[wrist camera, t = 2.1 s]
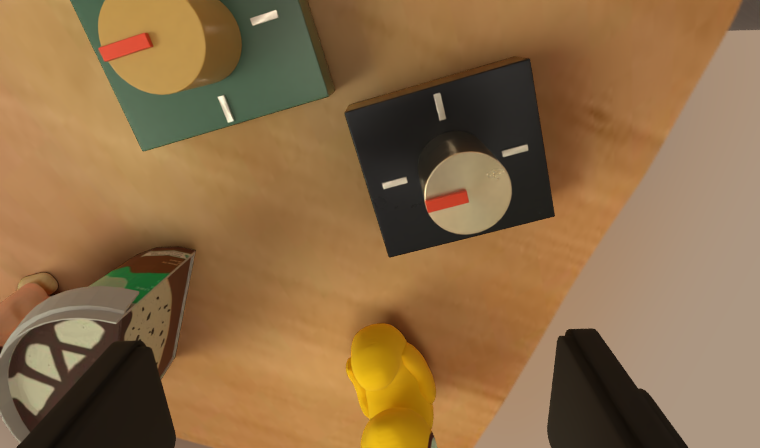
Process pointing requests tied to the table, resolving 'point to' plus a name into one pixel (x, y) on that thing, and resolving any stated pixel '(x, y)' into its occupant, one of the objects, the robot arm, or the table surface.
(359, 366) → the duckling
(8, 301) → the grandmother figurine
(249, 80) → the panel
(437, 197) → the dial
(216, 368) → the table surface
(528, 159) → the panel
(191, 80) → the dial
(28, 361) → the food container
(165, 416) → the robot arm
